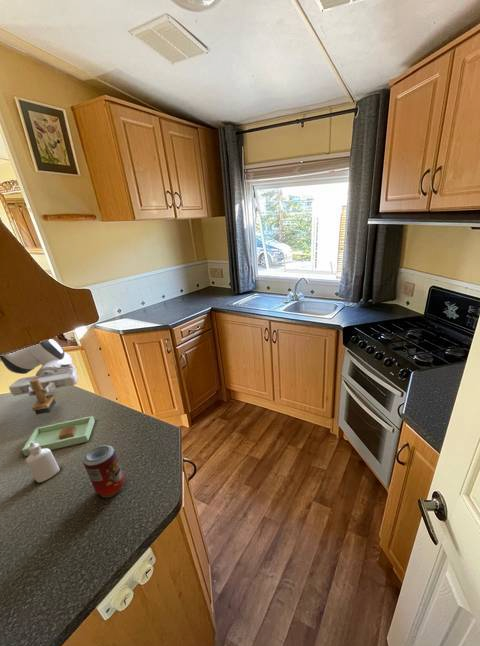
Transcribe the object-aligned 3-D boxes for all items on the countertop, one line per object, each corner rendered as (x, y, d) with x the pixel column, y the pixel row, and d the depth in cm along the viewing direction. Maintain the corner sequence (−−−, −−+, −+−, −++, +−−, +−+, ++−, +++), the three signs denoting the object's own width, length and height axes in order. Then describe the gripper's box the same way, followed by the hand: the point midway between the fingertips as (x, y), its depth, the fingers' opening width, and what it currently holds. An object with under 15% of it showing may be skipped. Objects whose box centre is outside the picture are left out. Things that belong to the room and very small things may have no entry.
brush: (35, 415, 100) (21, 386, 95) (42, 404, 106) (30, 376, 101) (50, 412, 101) (37, 383, 96) (56, 401, 107) (45, 374, 102)
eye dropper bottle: (37, 474, 83) (20, 441, 78) (60, 466, 85) (45, 433, 80) (34, 484, 79) (16, 451, 74) (59, 476, 81) (42, 443, 76)
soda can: (120, 497, 74) (106, 461, 69) (92, 501, 73) (75, 464, 68) (130, 476, 80) (117, 441, 75) (103, 479, 80) (89, 444, 75)
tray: (24, 456, 90) (21, 450, 89) (38, 433, 100) (35, 428, 99) (88, 441, 95) (85, 435, 94) (95, 421, 105) (92, 415, 104)
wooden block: (60, 439, 95) (58, 436, 95) (63, 432, 99) (62, 428, 98) (73, 436, 96) (72, 432, 96) (76, 429, 100) (75, 425, 99)
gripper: (15, 373, 107) (-3, 391, 95) (78, 363, 113) (68, 378, 101) (22, 388, 110) (5, 407, 98) (83, 377, 116) (74, 394, 104)
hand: (38, 392), depth 100 cm, fingers closed on brush, 2 cm apart
